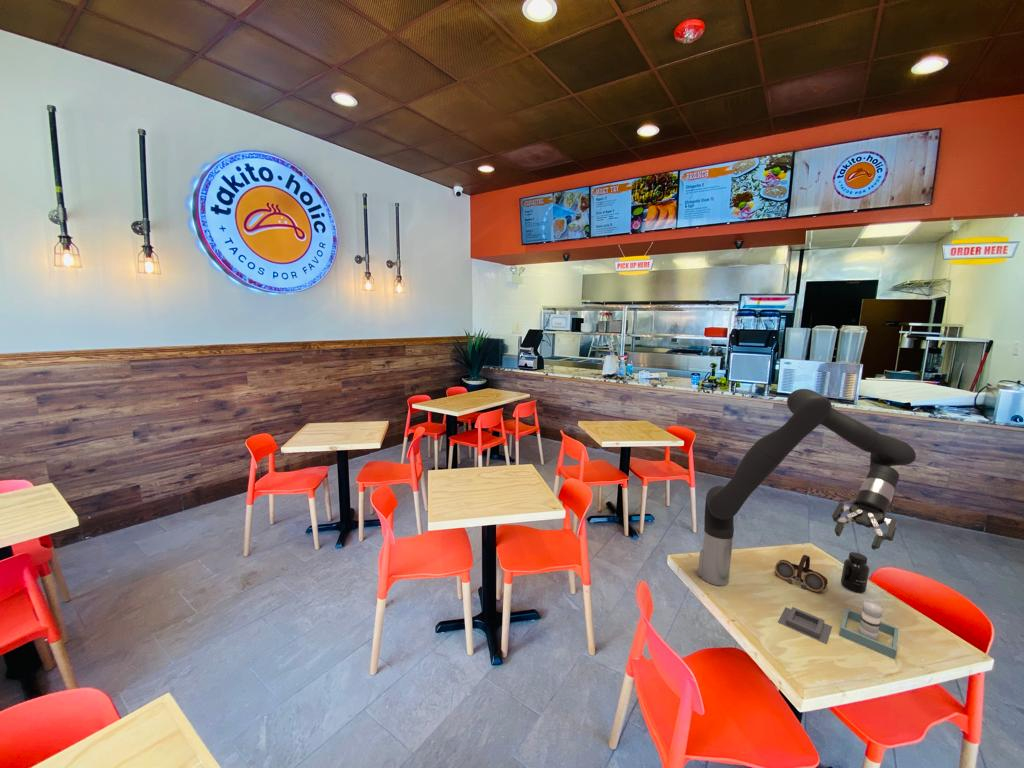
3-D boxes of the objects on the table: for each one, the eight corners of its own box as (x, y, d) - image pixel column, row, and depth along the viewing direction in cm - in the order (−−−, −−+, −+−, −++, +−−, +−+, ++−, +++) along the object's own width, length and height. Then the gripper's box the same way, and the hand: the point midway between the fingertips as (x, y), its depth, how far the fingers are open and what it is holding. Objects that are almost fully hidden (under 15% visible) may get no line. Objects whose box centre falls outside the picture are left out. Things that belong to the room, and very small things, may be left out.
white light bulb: (857, 635, 121) (862, 604, 119) (859, 628, 124) (864, 597, 122) (876, 643, 118) (882, 611, 116) (877, 636, 121) (883, 604, 119)
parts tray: (838, 638, 121) (840, 627, 120) (844, 618, 129) (846, 608, 129) (894, 662, 112) (896, 650, 112) (896, 639, 121) (898, 628, 120)
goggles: (771, 576, 150) (776, 548, 150) (781, 570, 159) (786, 544, 159) (822, 597, 139) (828, 568, 139) (830, 590, 148) (835, 562, 148)
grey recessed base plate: (777, 625, 125) (778, 617, 125) (785, 609, 133) (786, 602, 132) (826, 647, 117) (827, 639, 117) (831, 629, 124) (833, 621, 124)
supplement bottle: (859, 596, 140) (865, 563, 138) (836, 584, 146) (841, 552, 144) (869, 590, 143) (875, 558, 142) (846, 579, 149) (851, 548, 148)
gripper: (844, 482, 131) (824, 525, 126) (904, 498, 120) (884, 546, 115) (847, 494, 135) (828, 536, 130) (906, 512, 123) (887, 559, 119)
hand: (854, 541), depth 123 cm, fingers open, 8 cm apart
